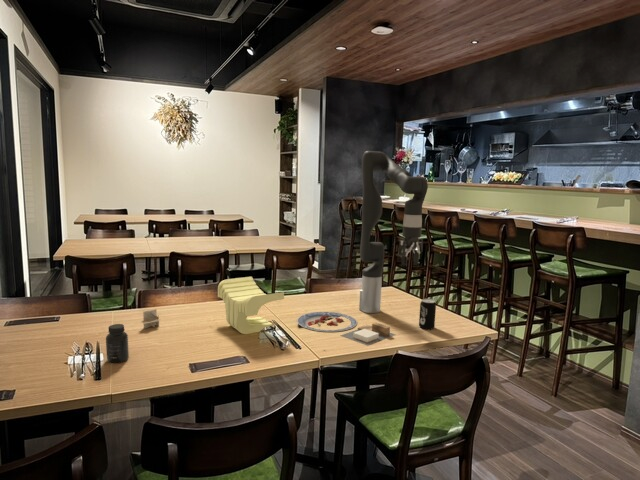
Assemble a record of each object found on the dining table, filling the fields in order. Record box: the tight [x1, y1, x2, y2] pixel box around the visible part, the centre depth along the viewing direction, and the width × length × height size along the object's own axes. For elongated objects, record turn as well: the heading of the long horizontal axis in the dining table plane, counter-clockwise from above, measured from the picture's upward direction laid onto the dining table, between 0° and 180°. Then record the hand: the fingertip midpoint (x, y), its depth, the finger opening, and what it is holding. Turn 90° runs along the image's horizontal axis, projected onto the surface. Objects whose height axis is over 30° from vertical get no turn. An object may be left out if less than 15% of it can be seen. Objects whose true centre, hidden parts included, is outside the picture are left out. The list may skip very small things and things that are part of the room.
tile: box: [353, 329, 379, 343], centre depth 176 cm, size 2×7×7 cm
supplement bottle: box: [105, 323, 130, 365], centre depth 153 cm, size 7×7×12 cm
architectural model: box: [140, 308, 161, 329], centre depth 185 cm, size 3×7×7 cm, turn 135°
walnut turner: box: [357, 322, 391, 337], centre depth 184 cm, size 13×6×4 cm, turn 45°
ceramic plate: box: [296, 311, 358, 333], centre depth 195 cm, size 26×26×3 cm
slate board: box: [340, 329, 397, 347], centre depth 180 cm, size 14×18×2 cm
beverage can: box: [418, 298, 437, 331], centre depth 195 cm, size 7×7×12 cm
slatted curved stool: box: [217, 276, 285, 335], centre depth 188 cm, size 30×16×18 cm, turn 34°
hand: (410, 263), depth 189 cm, fingers open, 8 cm apart
